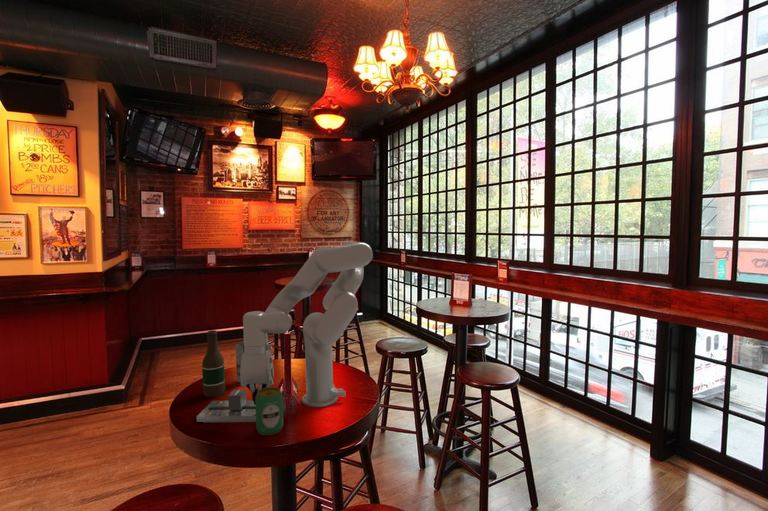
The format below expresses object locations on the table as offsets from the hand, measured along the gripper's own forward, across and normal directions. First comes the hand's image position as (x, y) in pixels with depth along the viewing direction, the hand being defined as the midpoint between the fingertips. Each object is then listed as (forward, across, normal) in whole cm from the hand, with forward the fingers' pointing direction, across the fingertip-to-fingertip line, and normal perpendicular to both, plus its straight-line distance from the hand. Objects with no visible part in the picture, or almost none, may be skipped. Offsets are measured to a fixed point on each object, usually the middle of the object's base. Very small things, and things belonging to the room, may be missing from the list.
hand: (257, 402), depth 137 cm
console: (+4, +6, 0) cm, 7 cm away
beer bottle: (+4, +22, -17) cm, 28 cm away
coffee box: (+4, +13, -31) cm, 34 cm away
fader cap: (+1, +7, 0) cm, 7 cm away
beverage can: (+4, -7, +11) cm, 14 cm away
